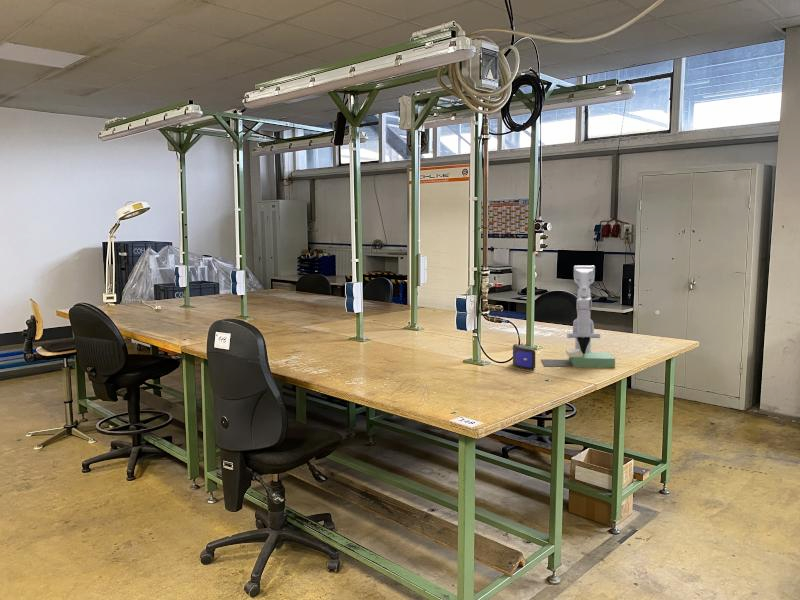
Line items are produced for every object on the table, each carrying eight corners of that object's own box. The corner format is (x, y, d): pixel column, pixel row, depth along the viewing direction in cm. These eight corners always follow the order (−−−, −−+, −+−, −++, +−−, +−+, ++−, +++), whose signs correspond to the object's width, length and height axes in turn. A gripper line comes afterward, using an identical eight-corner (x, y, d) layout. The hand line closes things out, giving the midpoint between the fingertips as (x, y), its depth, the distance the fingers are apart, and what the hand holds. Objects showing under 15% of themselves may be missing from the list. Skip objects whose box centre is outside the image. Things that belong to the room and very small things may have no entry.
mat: (541, 359, 291) (541, 359, 291) (569, 360, 289) (569, 359, 289) (543, 366, 277) (543, 365, 277) (573, 366, 276) (573, 366, 276)
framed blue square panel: (507, 364, 284) (507, 344, 283) (515, 363, 286) (516, 343, 285) (527, 371, 269) (527, 350, 268) (536, 370, 271) (536, 349, 270)
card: (566, 353, 286) (566, 348, 286) (579, 353, 286) (579, 348, 285) (568, 357, 278) (568, 352, 277) (582, 357, 277) (582, 352, 277)
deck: (569, 360, 289) (569, 351, 289) (608, 360, 287) (608, 352, 286) (573, 366, 276) (573, 358, 275) (614, 367, 273) (615, 358, 273)
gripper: (568, 325, 277) (568, 355, 278) (601, 325, 275) (601, 355, 276) (566, 323, 284) (566, 352, 285) (598, 323, 282) (598, 352, 283)
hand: (583, 353), depth 281 cm, fingers closed
